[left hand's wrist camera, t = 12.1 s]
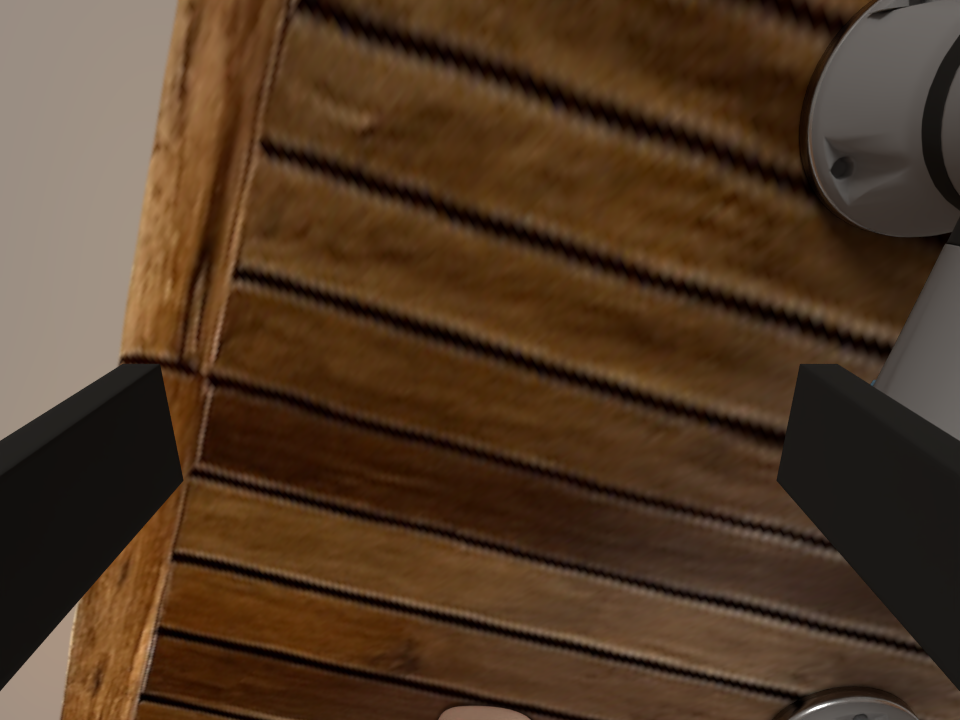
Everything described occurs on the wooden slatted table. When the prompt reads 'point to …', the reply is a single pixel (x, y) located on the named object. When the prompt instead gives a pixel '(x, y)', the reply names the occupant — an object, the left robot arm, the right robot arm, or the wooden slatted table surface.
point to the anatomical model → (481, 713)
